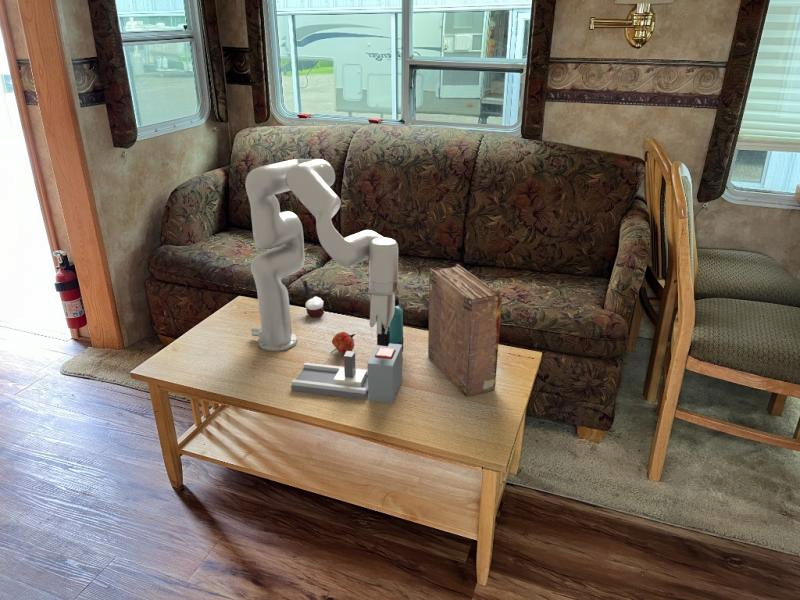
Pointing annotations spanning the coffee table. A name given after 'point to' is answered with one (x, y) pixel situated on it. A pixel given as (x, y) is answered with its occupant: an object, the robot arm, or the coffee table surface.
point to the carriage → (350, 372)
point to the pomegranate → (343, 342)
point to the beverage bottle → (397, 325)
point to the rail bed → (326, 382)
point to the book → (464, 329)
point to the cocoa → (313, 303)
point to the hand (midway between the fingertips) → (383, 344)
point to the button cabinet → (385, 375)
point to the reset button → (385, 353)
